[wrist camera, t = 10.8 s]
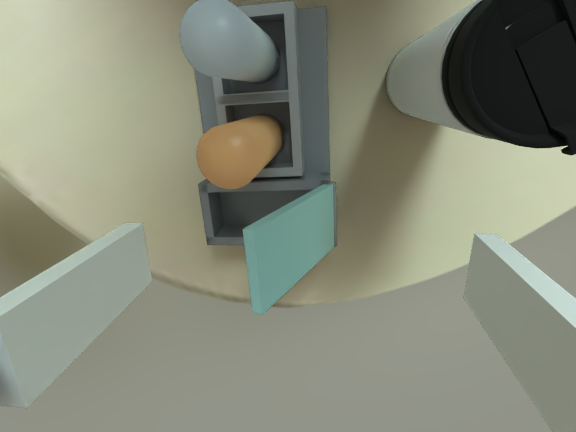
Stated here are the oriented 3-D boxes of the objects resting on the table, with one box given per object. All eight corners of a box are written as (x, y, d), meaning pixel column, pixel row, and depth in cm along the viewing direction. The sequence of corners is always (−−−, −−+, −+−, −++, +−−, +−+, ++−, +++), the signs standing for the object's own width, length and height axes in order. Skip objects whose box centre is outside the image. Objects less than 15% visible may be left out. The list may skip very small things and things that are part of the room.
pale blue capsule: (234, 35, 30) (174, 0, 19) (279, 31, 29) (245, -8, 18) (239, 84, 31) (185, 79, 20) (282, 81, 31) (253, 74, 19)
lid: (241, 228, 20) (254, 231, 20) (327, 181, 30) (337, 182, 29) (250, 311, 22) (263, 315, 22) (328, 242, 32) (338, 243, 31)
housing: (191, 21, 31) (171, 10, 27) (326, 7, 29) (324, -6, 25) (220, 229, 37) (207, 245, 33) (331, 227, 36) (330, 244, 32)
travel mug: (406, 133, 32) (510, 189, 13) (372, 67, 30) (437, 25, 11) (473, 95, 30) (705, 98, 11) (441, 24, 28) (648, -110, 10)
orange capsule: (241, 115, 32) (192, 126, 21) (283, 112, 31) (256, 122, 20) (246, 158, 33) (201, 190, 22) (286, 156, 33) (262, 188, 22)
